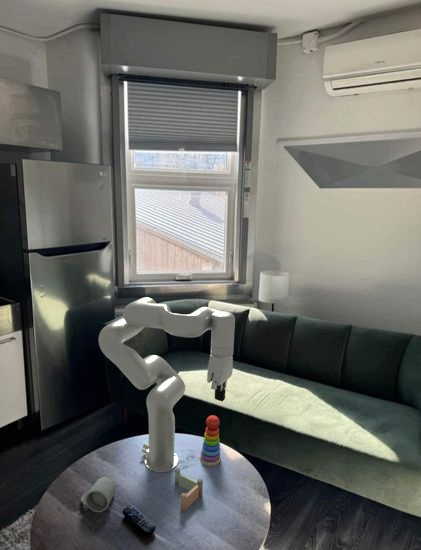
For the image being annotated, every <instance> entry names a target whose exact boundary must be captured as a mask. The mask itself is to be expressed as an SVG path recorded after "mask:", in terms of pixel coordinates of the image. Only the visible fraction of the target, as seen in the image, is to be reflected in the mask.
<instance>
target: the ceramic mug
mask: <svg viewBox="0 0 421 550" xmlns="http://www.w3.org/2000/svg"><path fill="white" fill-rule="evenodd" d="M116 486H117V485H116V483H115V481H114V480H113V479H112V478H110V477H109V476H102V477H99V479H97V480H96V482H95V483H94V484H93V486H92V487H91V488H90V489H88V490H87V491H86V492H84V494H82V496H81V497H80V501H81V503H82V505H83V506H85V505H86V506H87V507H88V508H89V510H91V511H92V512H96V513H102V512H104V511H106V510H107V508H108V507H109V505H110V503H111V501H112V499H113V497H114V495H115V493H116V488H117V487H116Z"/></svg>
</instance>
